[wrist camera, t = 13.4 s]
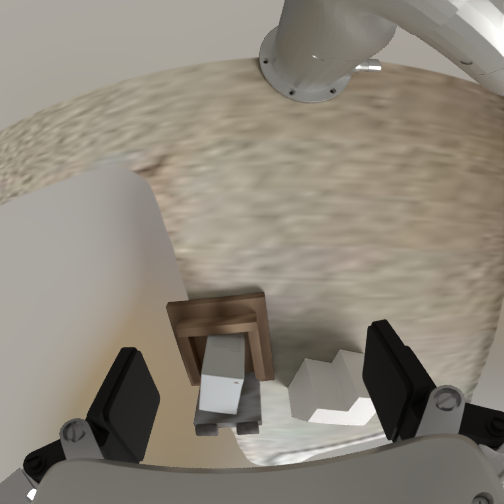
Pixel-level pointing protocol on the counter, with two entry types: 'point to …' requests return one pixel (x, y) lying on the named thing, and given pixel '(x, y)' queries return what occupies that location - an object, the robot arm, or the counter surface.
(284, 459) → the counter surface
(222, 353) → the small box
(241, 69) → the counter surface
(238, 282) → the counter surface
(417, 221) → the counter surface
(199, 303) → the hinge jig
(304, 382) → the corner bracket
